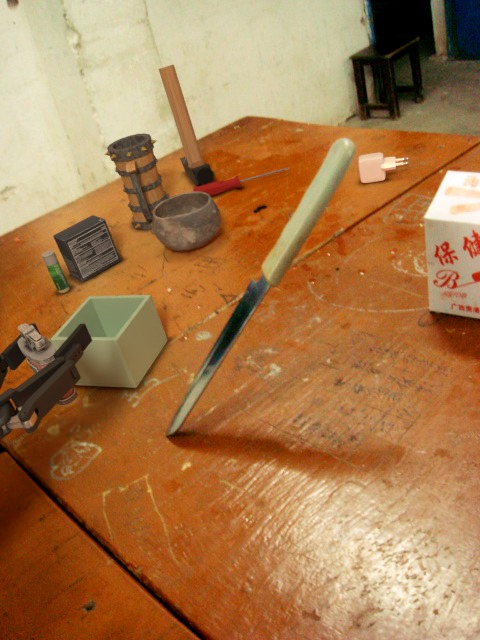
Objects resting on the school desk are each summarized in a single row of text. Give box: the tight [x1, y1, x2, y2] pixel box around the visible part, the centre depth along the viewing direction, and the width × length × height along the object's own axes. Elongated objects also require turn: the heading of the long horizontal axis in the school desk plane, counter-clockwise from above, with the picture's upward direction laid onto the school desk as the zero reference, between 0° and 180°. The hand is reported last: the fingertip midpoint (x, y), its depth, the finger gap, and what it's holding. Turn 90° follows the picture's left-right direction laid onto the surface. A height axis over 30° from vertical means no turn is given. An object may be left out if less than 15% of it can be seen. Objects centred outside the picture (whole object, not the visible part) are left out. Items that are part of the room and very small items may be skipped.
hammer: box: [158, 64, 215, 186], centre depth 170 cm, size 20×5×30 cm, turn 17°
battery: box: [41, 249, 71, 295], centre depth 135 cm, size 3×3×10 cm
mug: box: [103, 132, 170, 230], centre depth 152 cm, size 13×17×20 cm
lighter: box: [17, 323, 79, 407], centre depth 82 cm, size 8×3×10 cm, turn 40°
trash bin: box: [49, 294, 169, 389], centre depth 107 cm, size 13×13×10 cm
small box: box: [52, 214, 122, 283], centre depth 141 cm, size 11×6×10 cm, turn 130°
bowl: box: [150, 191, 222, 252], centre depth 139 cm, size 14×15×10 cm
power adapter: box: [357, 151, 410, 184], centre depth 146 cm, size 11×5×6 cm, turn 78°
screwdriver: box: [192, 167, 291, 197], centre depth 162 cm, size 4×25×4 cm, turn 97°
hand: (61, 331), depth 85 cm, fingers closed on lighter, 7 cm apart
